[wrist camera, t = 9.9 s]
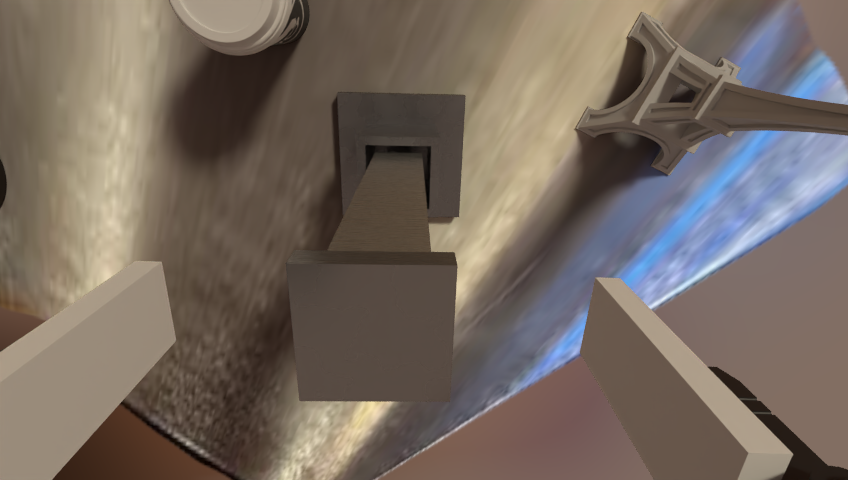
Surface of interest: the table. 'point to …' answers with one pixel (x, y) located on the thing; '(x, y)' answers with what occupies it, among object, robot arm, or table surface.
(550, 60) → the table surface
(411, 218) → the column
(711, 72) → the eiffel tower
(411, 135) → the stand base
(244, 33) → the coffee cup
